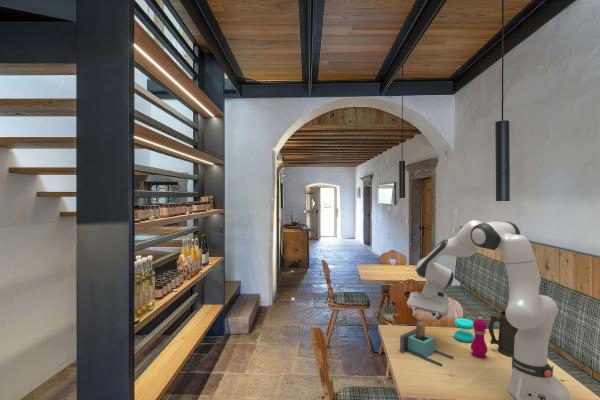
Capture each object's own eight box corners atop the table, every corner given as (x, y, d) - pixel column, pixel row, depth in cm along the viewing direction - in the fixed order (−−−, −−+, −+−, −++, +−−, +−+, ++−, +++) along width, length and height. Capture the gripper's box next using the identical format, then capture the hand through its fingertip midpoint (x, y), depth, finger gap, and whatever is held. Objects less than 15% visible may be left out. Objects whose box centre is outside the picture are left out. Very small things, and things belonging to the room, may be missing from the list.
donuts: (451, 317, 196) (469, 317, 195) (451, 334, 196) (469, 335, 196) (459, 324, 186) (478, 324, 185) (458, 342, 186) (477, 343, 186)
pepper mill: (489, 361, 166) (490, 320, 165) (472, 360, 168) (474, 318, 167) (484, 354, 173) (485, 314, 172) (468, 353, 175) (470, 313, 174)
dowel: (425, 345, 173) (426, 321, 173) (421, 347, 171) (422, 323, 170) (418, 342, 176) (419, 319, 176) (414, 344, 174) (414, 320, 173)
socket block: (434, 352, 173) (434, 338, 172) (424, 358, 167) (424, 343, 166) (417, 345, 179) (418, 332, 179) (407, 351, 174) (408, 337, 173)
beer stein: (517, 348, 181) (516, 309, 180) (529, 358, 170) (527, 317, 169) (486, 348, 182) (484, 310, 182) (495, 358, 172) (494, 317, 171)
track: (455, 359, 168) (456, 340, 168) (438, 370, 158) (439, 350, 157) (417, 344, 183) (418, 327, 183) (399, 353, 173) (400, 335, 173)
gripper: (409, 287, 189) (401, 310, 182) (449, 295, 176) (442, 320, 169) (412, 293, 193) (405, 316, 186) (452, 302, 180) (445, 326, 173)
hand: (423, 318), depth 177 cm, fingers open, 8 cm apart
